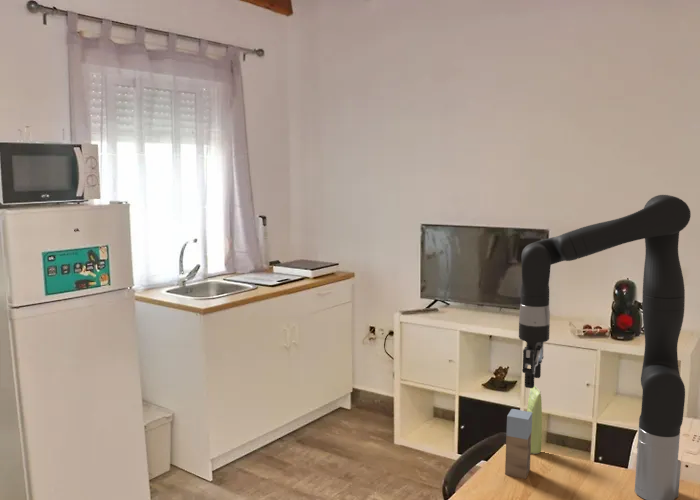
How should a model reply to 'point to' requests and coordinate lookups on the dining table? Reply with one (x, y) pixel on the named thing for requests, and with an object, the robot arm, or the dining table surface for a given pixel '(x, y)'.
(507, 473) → the tower lower
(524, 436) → the slate block
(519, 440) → the tower upper
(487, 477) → the dining table surface
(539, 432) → the tube
